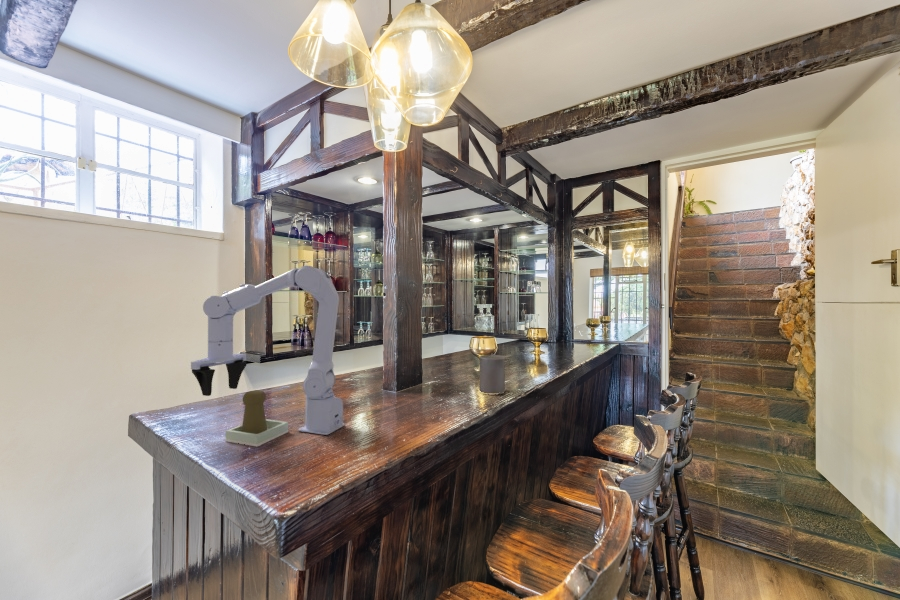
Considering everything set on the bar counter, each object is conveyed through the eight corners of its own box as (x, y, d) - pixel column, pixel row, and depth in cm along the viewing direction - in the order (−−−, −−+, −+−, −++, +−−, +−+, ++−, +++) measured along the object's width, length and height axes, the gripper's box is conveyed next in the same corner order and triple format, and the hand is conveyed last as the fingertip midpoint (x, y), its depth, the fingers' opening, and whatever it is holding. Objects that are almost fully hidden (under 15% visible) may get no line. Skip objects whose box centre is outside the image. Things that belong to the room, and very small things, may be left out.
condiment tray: (288, 432, 94) (288, 422, 94) (257, 446, 85) (257, 435, 85) (258, 427, 98) (258, 418, 98) (225, 441, 88) (225, 430, 88)
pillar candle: (479, 388, 141) (479, 351, 141) (504, 389, 140) (504, 351, 140) (479, 395, 132) (479, 355, 132) (505, 396, 131) (505, 355, 131)
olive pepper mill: (256, 439, 88) (256, 394, 88) (234, 437, 89) (235, 393, 89) (272, 430, 94) (272, 388, 94) (252, 429, 95) (252, 387, 95)
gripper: (233, 337, 104) (233, 384, 104) (182, 343, 90) (182, 397, 90) (252, 338, 101) (252, 386, 101) (202, 344, 88) (202, 399, 88)
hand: (220, 391), depth 95 cm, fingers open, 7 cm apart
